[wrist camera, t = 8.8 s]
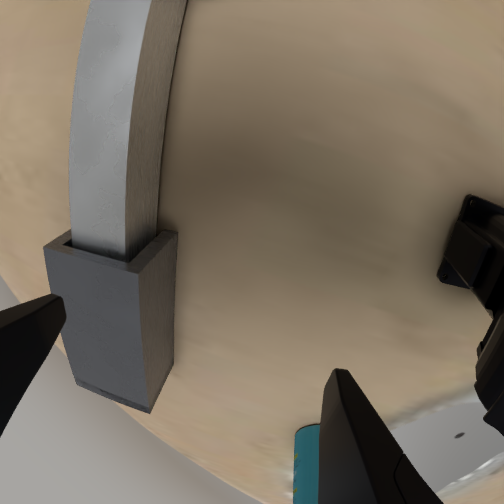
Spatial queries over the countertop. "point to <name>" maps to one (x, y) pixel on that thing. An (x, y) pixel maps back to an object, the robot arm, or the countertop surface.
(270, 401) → the countertop surface
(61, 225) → the countertop surface
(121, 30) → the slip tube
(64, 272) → the sleeve
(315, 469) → the tube
